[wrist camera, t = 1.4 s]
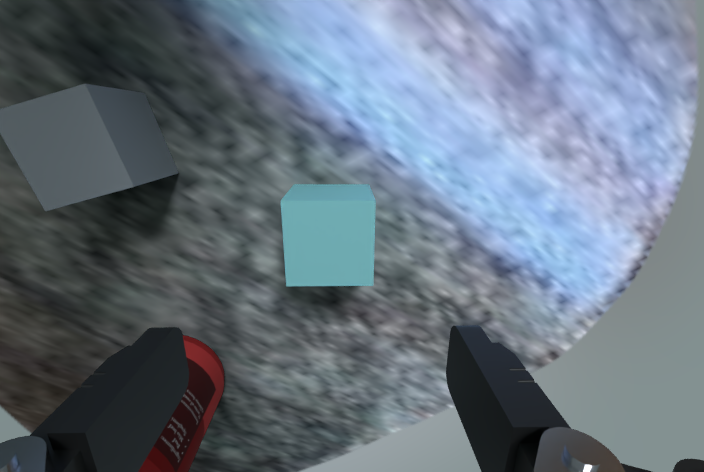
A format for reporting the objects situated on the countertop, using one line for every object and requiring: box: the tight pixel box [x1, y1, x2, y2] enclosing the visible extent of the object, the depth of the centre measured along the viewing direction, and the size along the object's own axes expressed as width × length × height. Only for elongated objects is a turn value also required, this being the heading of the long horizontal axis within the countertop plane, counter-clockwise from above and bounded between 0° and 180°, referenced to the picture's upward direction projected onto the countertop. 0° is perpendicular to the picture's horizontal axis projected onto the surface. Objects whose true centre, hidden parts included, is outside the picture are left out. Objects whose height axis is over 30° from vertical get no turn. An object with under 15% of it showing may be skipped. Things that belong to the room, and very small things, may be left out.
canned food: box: [138, 335, 224, 472], centre depth 22 cm, size 8×8×11 cm
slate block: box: [0, 84, 179, 211], centre depth 19 cm, size 5×5×5 cm
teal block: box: [281, 184, 376, 286], centre depth 21 cm, size 5×5×5 cm
